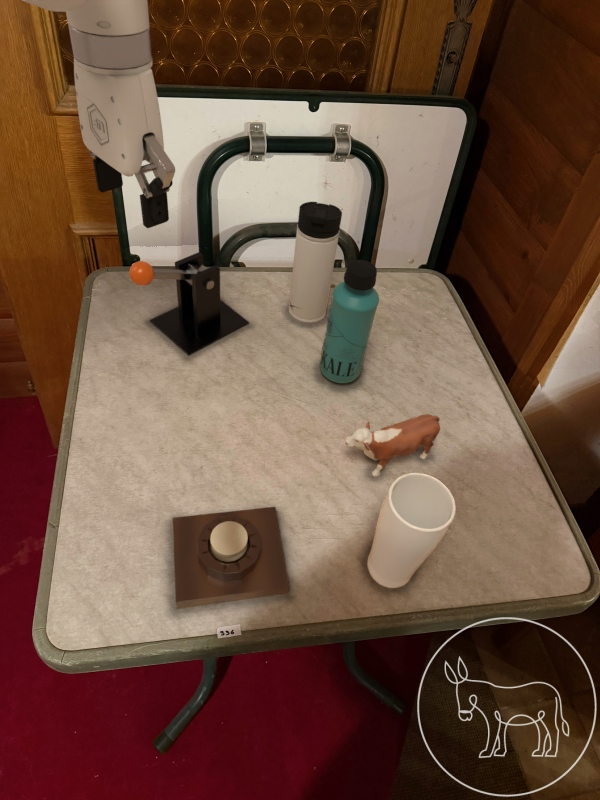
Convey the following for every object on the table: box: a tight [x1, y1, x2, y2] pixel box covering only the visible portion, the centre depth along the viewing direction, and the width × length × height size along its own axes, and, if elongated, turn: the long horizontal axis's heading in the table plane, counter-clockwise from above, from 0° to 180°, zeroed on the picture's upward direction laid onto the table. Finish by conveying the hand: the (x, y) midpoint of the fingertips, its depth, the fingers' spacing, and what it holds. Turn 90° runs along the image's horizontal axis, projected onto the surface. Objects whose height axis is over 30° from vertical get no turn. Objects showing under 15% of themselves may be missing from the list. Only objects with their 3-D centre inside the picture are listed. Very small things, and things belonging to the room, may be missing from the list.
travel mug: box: [287, 201, 343, 325], centre depth 87 cm, size 6×7×20 cm
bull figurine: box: [344, 413, 441, 477], centre depth 73 cm, size 4×13×8 cm, turn 111°
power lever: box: [128, 260, 209, 287], centre depth 78 cm, size 13×3×3 cm, turn 134°
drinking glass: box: [366, 472, 457, 589], centre depth 60 cm, size 7×7×15 cm
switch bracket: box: [149, 251, 250, 357], centre depth 85 cm, size 12×10×12 cm
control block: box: [172, 506, 290, 610], centre depth 63 cm, size 12×10×4 cm
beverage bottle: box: [319, 259, 380, 384], centre depth 78 cm, size 6×7×20 cm
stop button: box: [210, 521, 248, 562], centre depth 61 cm, size 4×4×2 cm
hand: (132, 205), depth 68 cm, fingers open, 9 cm apart
